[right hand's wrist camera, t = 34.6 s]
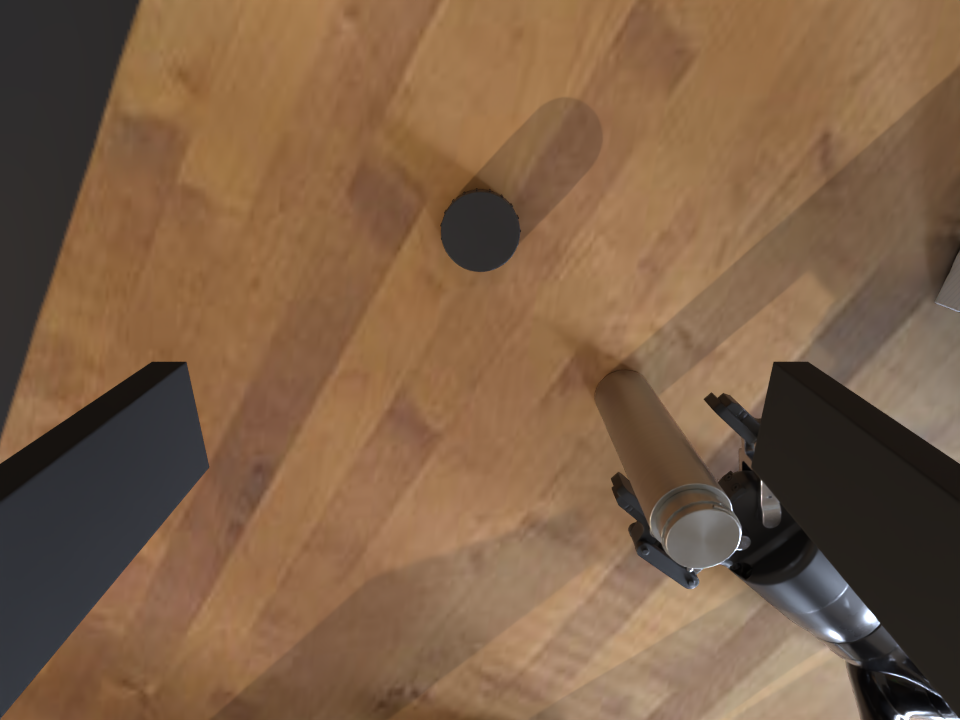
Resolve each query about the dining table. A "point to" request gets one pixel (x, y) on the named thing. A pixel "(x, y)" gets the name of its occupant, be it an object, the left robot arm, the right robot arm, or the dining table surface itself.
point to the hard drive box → (951, 288)
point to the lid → (480, 230)
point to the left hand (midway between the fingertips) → (662, 442)
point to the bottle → (667, 474)
